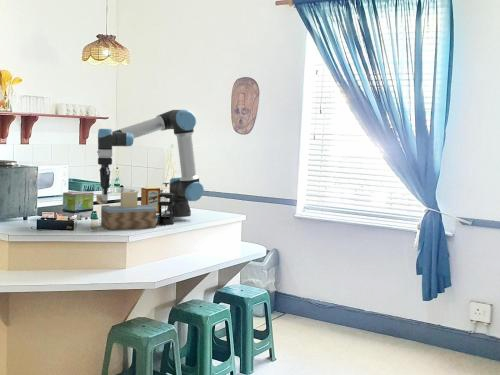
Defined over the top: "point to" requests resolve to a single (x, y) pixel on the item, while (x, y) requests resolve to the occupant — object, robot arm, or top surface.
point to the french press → (172, 209)
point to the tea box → (78, 204)
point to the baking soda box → (150, 197)
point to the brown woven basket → (128, 220)
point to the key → (100, 199)
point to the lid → (128, 204)
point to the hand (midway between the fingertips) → (104, 200)
